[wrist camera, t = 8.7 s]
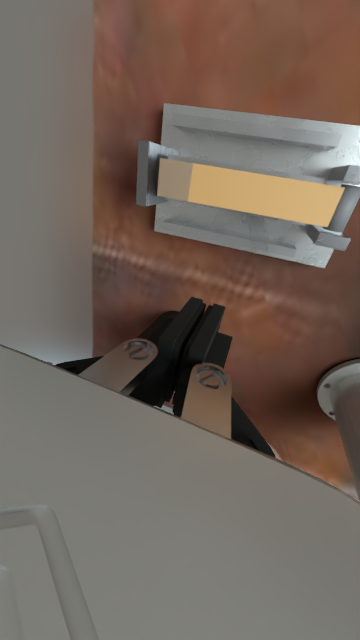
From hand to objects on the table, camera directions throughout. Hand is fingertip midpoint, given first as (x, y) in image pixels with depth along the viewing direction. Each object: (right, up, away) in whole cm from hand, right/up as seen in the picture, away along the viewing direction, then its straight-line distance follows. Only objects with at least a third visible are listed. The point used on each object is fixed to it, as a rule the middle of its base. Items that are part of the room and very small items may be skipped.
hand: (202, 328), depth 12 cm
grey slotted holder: (+7, +15, +15) cm, 22 cm away
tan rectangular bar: (+5, +12, +10) cm, 16 cm away
